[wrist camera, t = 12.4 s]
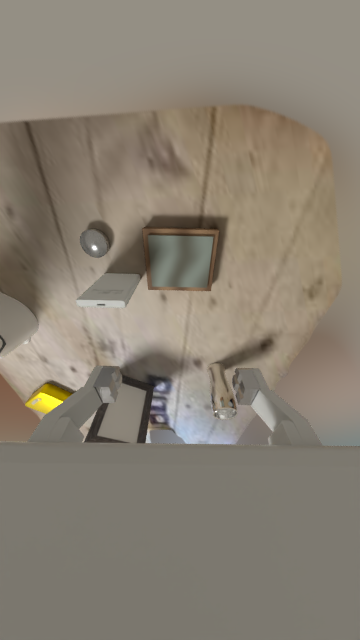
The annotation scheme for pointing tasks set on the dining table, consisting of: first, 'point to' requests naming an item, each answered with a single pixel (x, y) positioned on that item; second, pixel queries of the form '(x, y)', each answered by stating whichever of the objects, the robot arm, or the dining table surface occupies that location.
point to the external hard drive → (110, 291)
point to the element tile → (47, 398)
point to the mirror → (180, 258)
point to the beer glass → (221, 393)
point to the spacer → (94, 243)
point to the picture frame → (123, 415)
